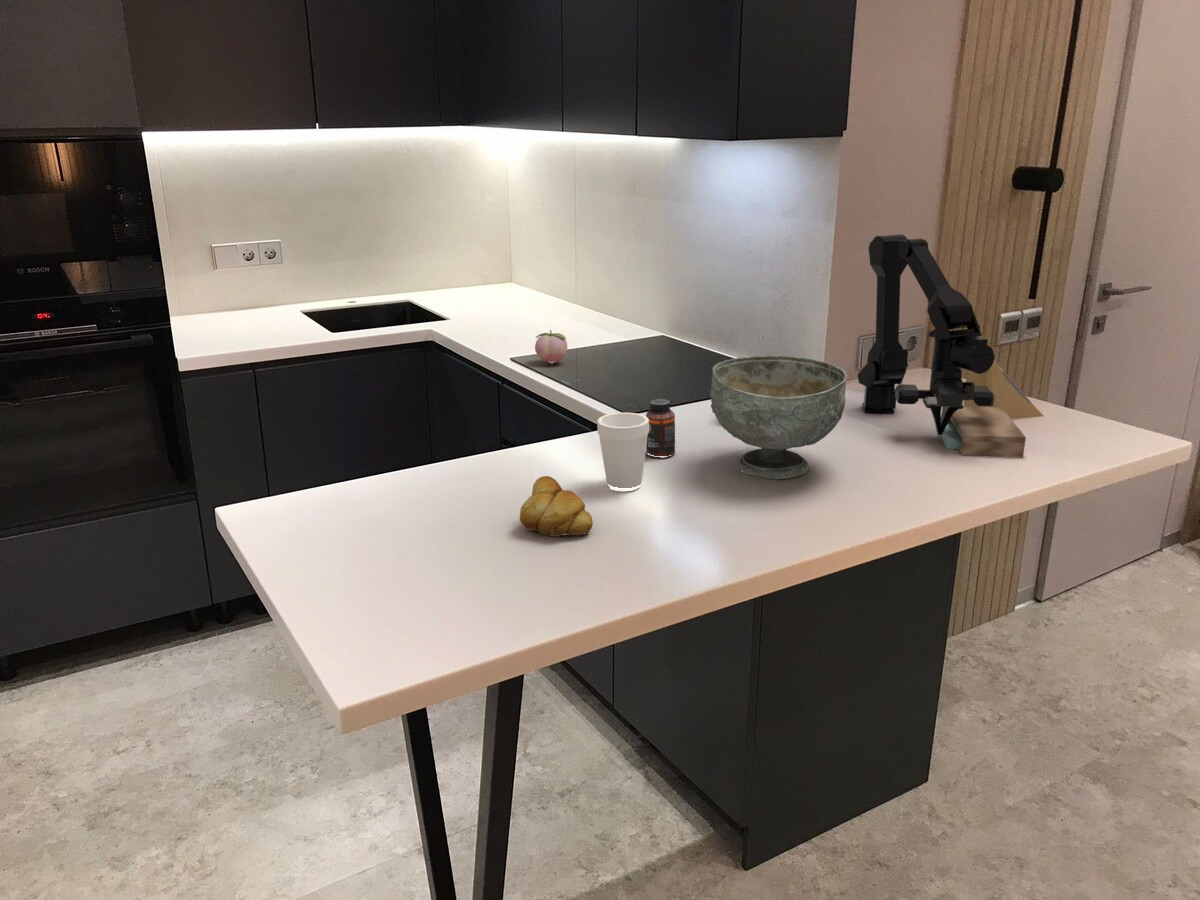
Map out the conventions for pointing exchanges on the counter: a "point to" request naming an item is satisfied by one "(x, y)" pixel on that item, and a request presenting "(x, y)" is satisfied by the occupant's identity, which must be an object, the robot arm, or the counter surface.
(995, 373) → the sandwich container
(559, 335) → the decorative fruit
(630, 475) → the foam cup
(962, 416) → the low shelf
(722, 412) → the decorative bowl
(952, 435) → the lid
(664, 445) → the supplement bottle
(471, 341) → the counter surface
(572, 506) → the bread roll
